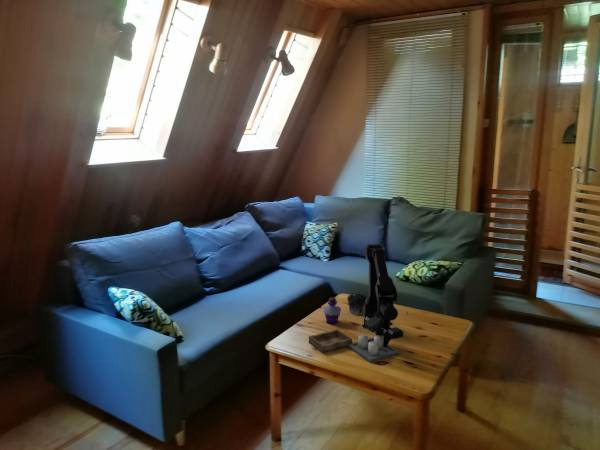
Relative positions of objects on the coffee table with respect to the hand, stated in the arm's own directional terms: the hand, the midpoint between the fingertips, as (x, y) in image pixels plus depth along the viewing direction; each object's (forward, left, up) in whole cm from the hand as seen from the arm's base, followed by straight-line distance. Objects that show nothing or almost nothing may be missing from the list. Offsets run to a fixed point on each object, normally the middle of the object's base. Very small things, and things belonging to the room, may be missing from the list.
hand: (382, 345), depth 196 cm
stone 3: (+2, 0, 0) cm, 2 cm away
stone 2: (+8, +4, 0) cm, 9 cm away
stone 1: (+8, -3, 0) cm, 9 cm away
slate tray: (+5, 0, -1) cm, 5 cm away
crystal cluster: (-17, -37, -2) cm, 40 cm away
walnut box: (+18, -13, -1) cm, 22 cm away
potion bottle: (+4, -32, -1) cm, 33 cm away
